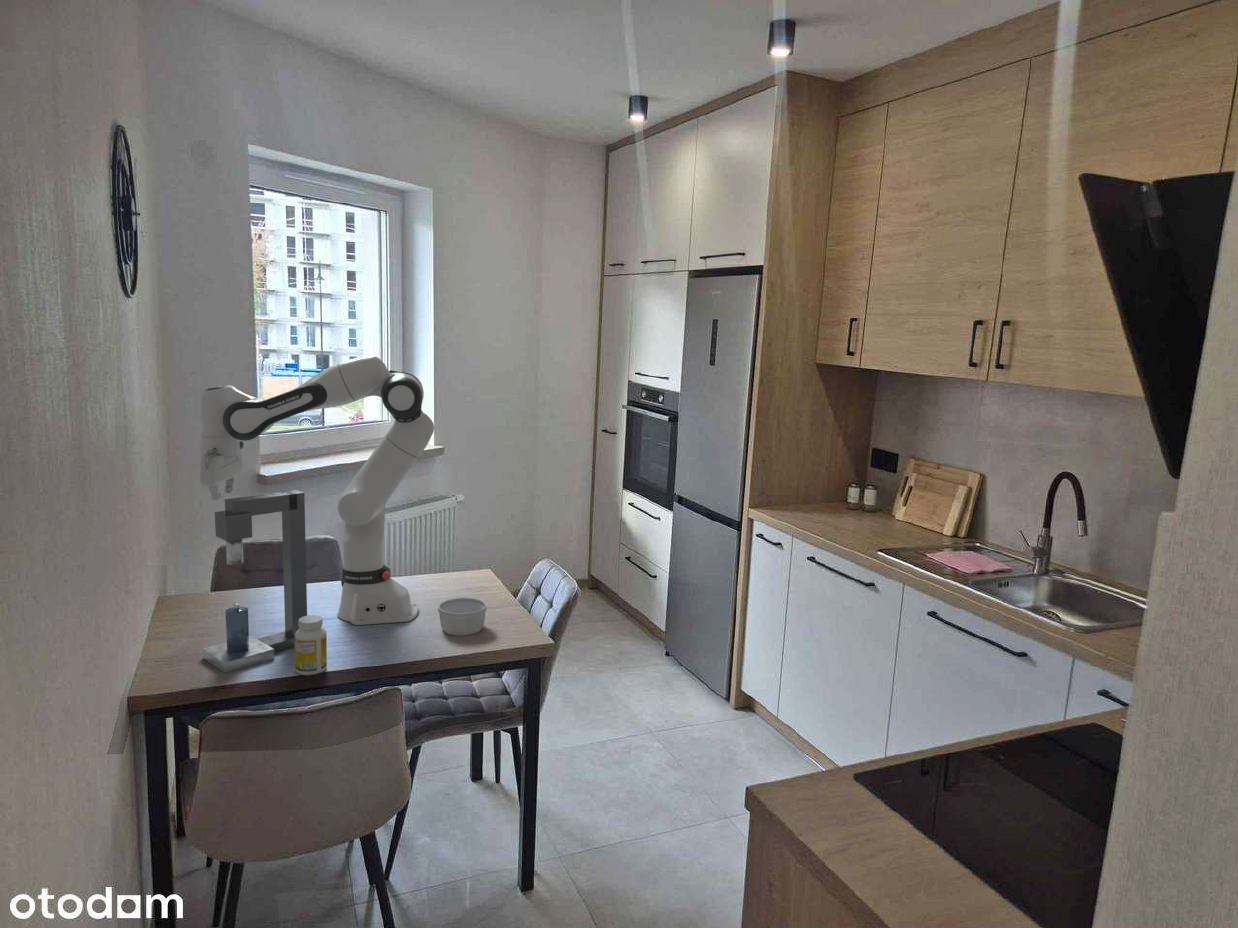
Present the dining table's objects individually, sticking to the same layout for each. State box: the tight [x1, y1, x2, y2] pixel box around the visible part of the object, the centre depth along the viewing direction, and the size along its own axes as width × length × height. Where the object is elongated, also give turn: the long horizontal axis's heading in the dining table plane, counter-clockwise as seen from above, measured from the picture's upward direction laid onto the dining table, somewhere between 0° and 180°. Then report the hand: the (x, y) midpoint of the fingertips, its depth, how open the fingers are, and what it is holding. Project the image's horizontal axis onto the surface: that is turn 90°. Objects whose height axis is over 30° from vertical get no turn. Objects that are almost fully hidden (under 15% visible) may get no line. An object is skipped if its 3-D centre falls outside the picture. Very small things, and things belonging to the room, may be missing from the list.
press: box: [202, 489, 308, 674], centre depth 194 cm, size 23×12×40 cm, turn 140°
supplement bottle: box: [294, 614, 328, 676], centre depth 188 cm, size 7×7×13 cm
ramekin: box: [437, 597, 488, 637], centre depth 218 cm, size 13×13×7 cm
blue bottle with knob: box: [224, 602, 250, 653], centre depth 192 cm, size 5×5×12 cm
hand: (222, 496), depth 212 cm, fingers open, 8 cm apart
